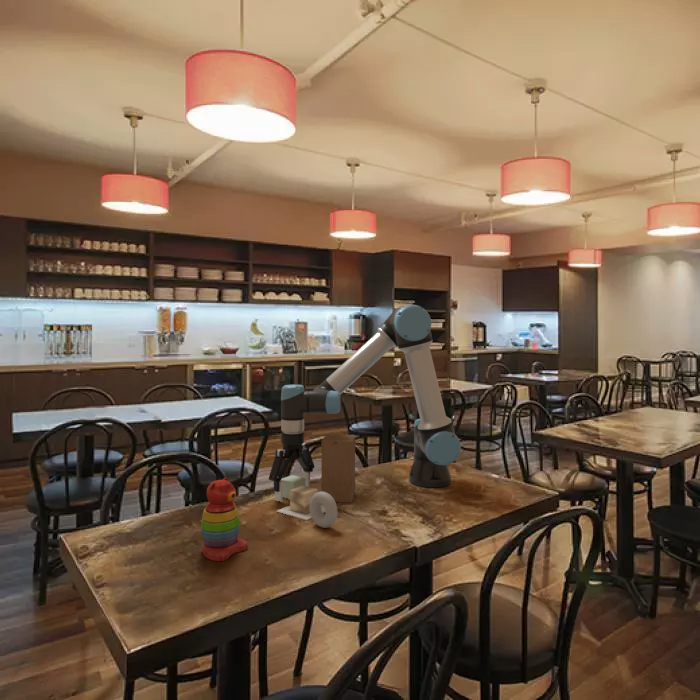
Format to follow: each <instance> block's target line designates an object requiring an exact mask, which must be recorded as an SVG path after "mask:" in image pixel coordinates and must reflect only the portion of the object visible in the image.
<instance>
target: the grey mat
mask: <svg viewBox="0 0 700 700" xmlns="http://www.w3.org/2000/svg"><path fill="white" fill-rule="evenodd" d="M321 509H322V512H323V514H324V513H326V512H325V507H324V506H323V504H322V505H321ZM278 512H279V514H282V513H283V515H285V514H286V515H287V516H289V517H292V516H293V518H296V519H299V520H303V521H306V520H307V521H309V520H311V519H312V517H311V514H310V512H308V513H306V514H303V513H300V512H296V511H292V510H290V504H289V505H287V506H285V507H282V508H281V509H280V508H279V509H277V510H276V513H278Z"/></svg>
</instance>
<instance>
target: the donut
mask: <svg viewBox="0 0 700 700" xmlns="http://www.w3.org/2000/svg"><path fill="white" fill-rule="evenodd" d="M321 505H323V506H324V507H325V512H324V513H325V514H324V513H323V512H322V509H321ZM338 512H339V511H338V506H337V502H335V501H334V499H333V497H332V496H331V495H330V494H328V493H326V492H322V490H320V491H318V493H315V494H314V496H313V497H312V498H311V501H310V514H311V517H312V518H311V519H312V521H313V522H314V523H315V524H316V525H317V526H318V527H319V528H324V529H327V528H330V527H332V526H333V525H334V524H335V523H336V521H337V518H338Z"/></svg>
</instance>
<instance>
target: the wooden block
mask: <svg viewBox="0 0 700 700" xmlns="http://www.w3.org/2000/svg"><path fill="white" fill-rule="evenodd" d="M320 443H321V446H320V447H321V448H320V449H321V491H322V492H326V493H328V494H330V495H331V496H332V497H333V499H334V501H335V502H336V503H345V502H346V503H348V504H349V503H353V500H354V498H355V493H356V435H355V434H334V433H333V434H327V433H326V434H325V436H324V437H323V438H322V440H321V442H320Z"/></svg>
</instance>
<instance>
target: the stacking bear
mask: <svg viewBox="0 0 700 700" xmlns="http://www.w3.org/2000/svg"><path fill="white" fill-rule="evenodd" d="M236 496H237V490H236V488H235V487H234V485H233V484H232V482H230V481H229V478H228V477H224V478H222V479H218V480H214V481H212V482H211V483H210V484H209V485H208V486H207V489H206V497H207V501H208V503H207V504H206V506H205V508H204V509H203V512H202V518H201V522H200V531H201V535H202V539H203V545H202V547H201V552H202V554H203V556H204V557H205V558H207V559H208V560H212V561H214V562H223V561H226V560H228V559H229V558H230V556H232V555H233V554H235V553H239V552H243V551H246V550H247V549H248V548H249V544H248V542H247V541H246V540H244V539H242V538H239V537H238V536H239V532H240V521H241V520H240V517H239V513H238V509H237V505H236V503H235V502H234V500H235V499H236Z"/></svg>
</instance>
